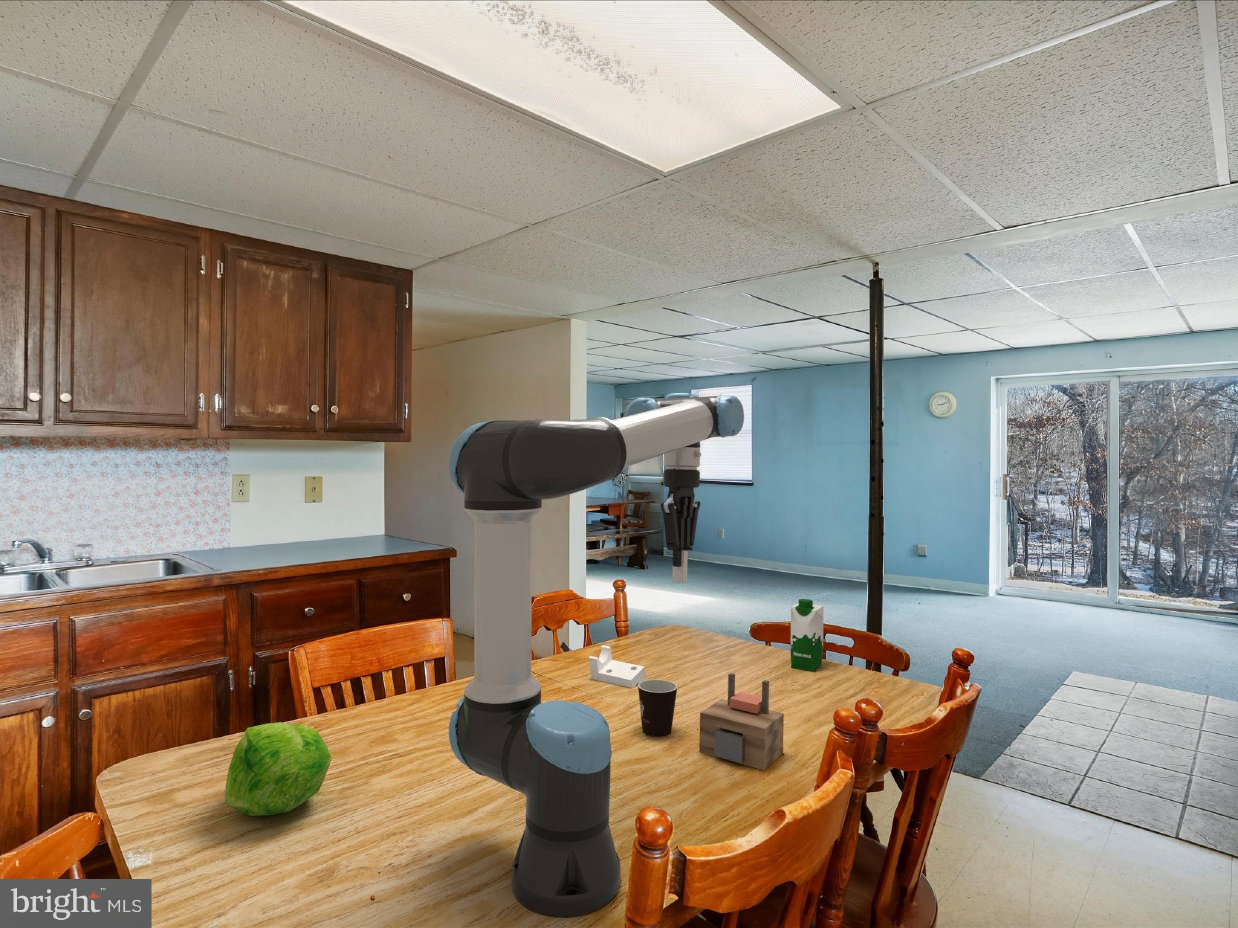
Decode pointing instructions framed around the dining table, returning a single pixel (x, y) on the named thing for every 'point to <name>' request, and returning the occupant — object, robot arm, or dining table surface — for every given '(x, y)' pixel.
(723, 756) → the pin
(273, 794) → the lettuce
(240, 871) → the dining table surface
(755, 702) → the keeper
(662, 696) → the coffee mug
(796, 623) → the milk carton
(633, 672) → the bracket
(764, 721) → the block
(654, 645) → the dining table surface
